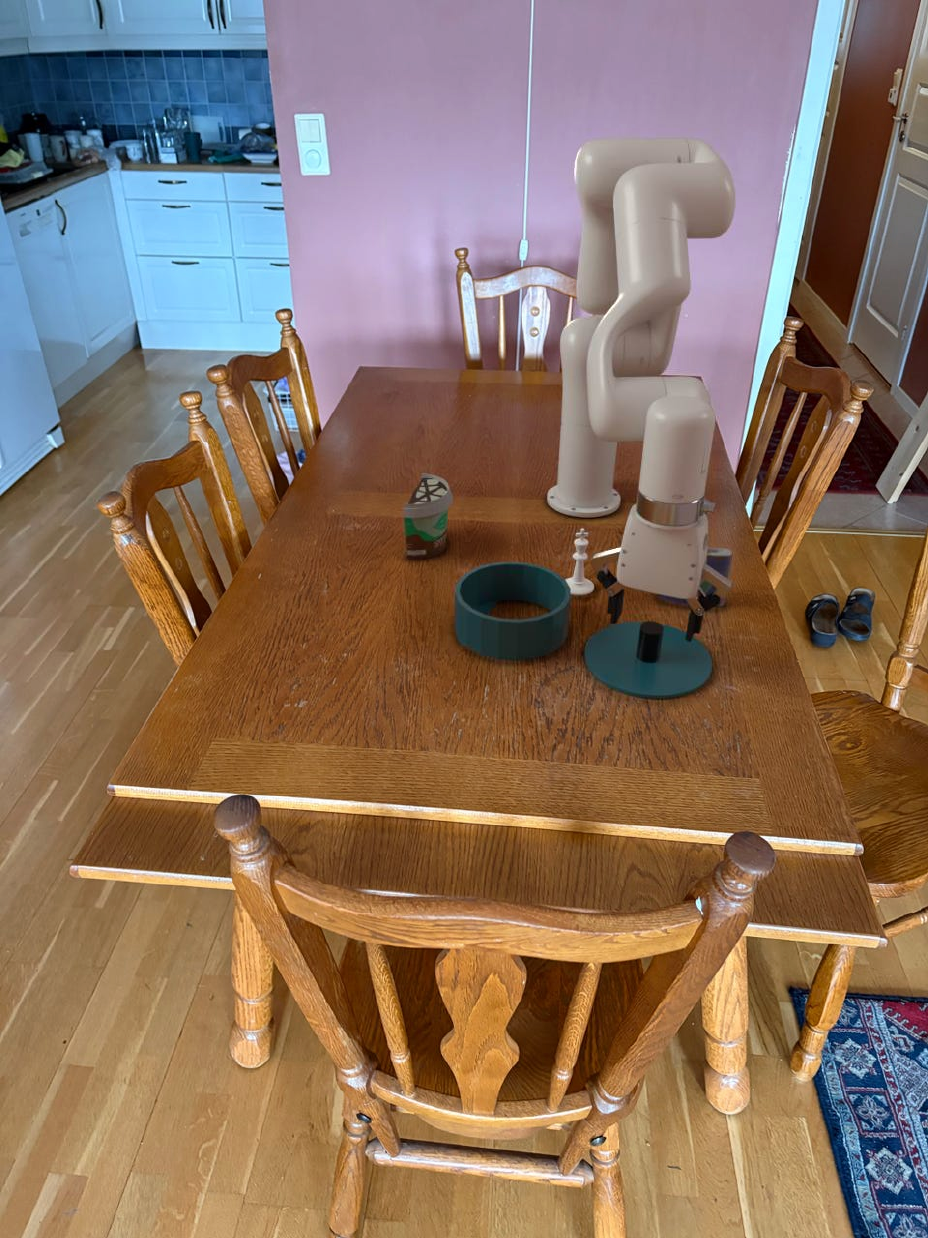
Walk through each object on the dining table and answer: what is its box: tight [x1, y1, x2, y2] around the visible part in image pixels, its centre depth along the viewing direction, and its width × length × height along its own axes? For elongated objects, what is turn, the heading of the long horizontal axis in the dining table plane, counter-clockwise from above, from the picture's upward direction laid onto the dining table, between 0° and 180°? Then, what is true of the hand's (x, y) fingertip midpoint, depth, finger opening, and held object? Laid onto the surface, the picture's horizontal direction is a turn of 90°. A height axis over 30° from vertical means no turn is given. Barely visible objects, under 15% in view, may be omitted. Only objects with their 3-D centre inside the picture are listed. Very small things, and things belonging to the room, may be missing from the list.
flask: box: [658, 546, 733, 608], centre depth 129 cm, size 9×3×11 cm, turn 74°
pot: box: [454, 560, 572, 661], centre depth 124 cm, size 15×15×6 cm
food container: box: [402, 472, 454, 561], centre depth 143 cm, size 12×6×10 cm, turn 168°
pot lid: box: [583, 620, 713, 700], centre depth 118 cm, size 16×16×6 cm
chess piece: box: [565, 528, 595, 596], centre depth 132 cm, size 5×5×10 cm
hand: (652, 627), depth 116 cm, fingers open, 9 cm apart
